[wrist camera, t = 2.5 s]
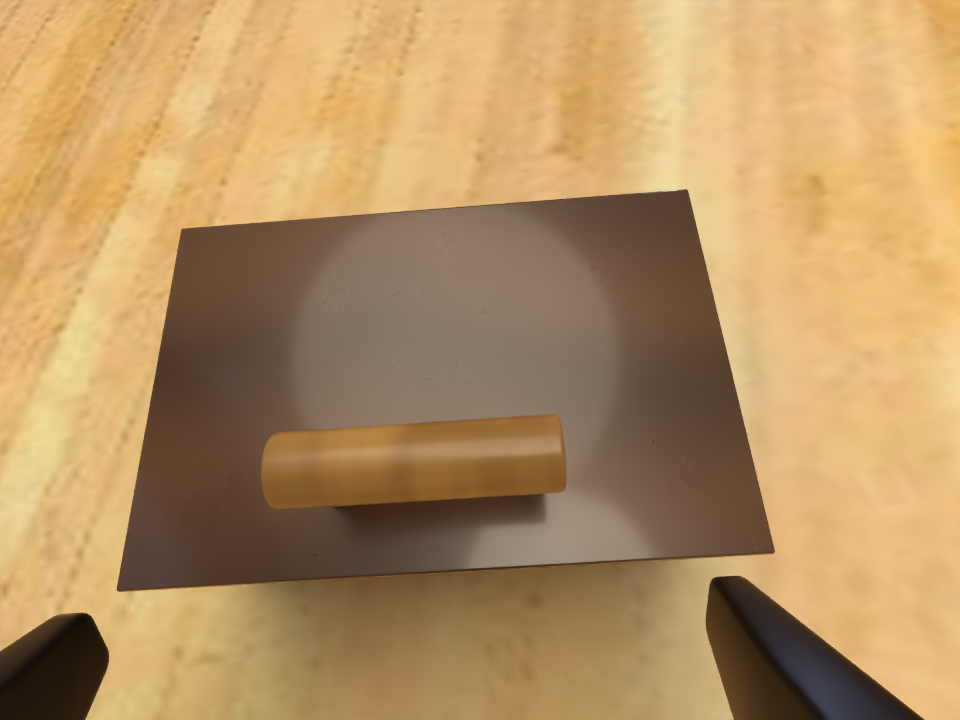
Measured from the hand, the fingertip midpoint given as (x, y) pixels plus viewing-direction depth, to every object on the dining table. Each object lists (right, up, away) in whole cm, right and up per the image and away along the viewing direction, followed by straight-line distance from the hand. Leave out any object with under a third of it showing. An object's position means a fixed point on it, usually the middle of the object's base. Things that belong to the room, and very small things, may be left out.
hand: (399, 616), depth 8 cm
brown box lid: (0, +3, +8) cm, 8 cm away
